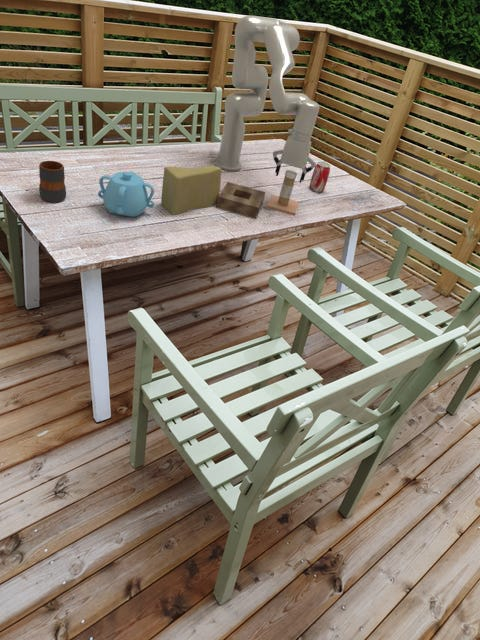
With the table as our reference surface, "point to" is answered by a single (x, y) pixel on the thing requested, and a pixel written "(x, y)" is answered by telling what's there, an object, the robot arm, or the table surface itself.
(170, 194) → the cheese
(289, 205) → the terracotta tile
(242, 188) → the frame
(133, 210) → the decorative pot
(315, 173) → the soda can
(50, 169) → the mug
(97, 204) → the table surface
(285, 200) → the sprinkles bottle
